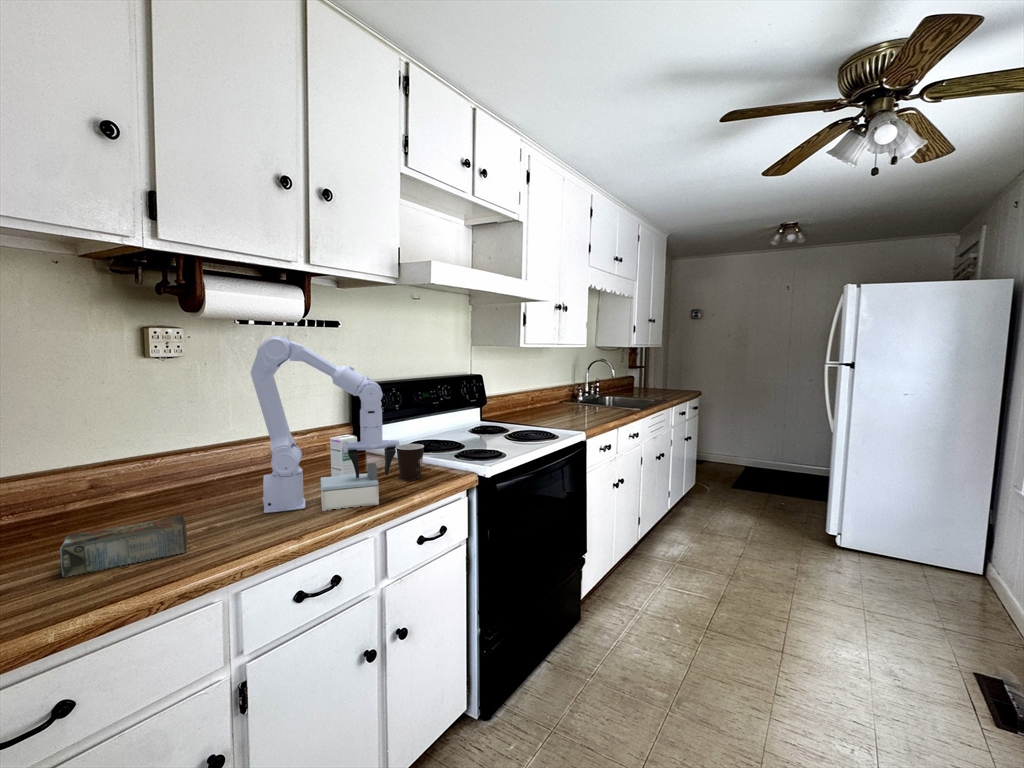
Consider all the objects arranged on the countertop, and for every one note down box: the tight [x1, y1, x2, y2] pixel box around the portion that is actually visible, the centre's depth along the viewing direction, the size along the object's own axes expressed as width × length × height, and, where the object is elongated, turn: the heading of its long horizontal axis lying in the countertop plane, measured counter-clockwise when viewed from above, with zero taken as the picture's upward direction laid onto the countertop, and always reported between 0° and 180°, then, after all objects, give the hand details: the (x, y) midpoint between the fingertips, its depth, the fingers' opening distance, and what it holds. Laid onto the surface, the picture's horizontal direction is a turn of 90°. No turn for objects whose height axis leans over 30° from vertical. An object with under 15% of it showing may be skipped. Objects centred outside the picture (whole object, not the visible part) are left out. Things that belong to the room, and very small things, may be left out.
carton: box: [320, 484, 380, 512], centre depth 131 cm, size 14×10×5 cm
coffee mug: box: [395, 443, 425, 481], centre depth 157 cm, size 12×9×10 cm
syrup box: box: [329, 434, 358, 477], centre depth 148 cm, size 6×6×14 cm
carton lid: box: [320, 462, 379, 491], centre depth 131 cm, size 14×10×4 cm
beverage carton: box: [59, 514, 188, 578], centre depth 97 cm, size 8×19×7 cm, turn 126°
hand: (372, 475), depth 133 cm, fingers open, 7 cm apart
